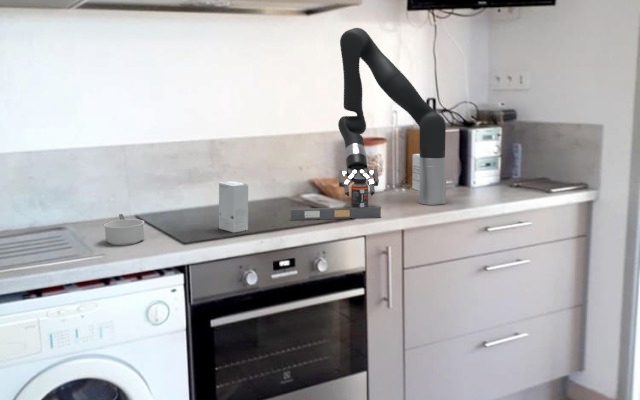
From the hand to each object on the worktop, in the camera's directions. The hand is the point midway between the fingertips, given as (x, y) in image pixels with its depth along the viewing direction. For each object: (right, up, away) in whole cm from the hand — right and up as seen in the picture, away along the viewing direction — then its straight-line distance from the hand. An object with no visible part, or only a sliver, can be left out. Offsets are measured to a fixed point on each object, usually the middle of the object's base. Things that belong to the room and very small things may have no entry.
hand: (360, 194), depth 227 cm
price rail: (-9, -8, -13) cm, 18 cm away
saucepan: (-73, -14, -36) cm, 82 cm away
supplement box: (+30, +2, +42) cm, 52 cm away
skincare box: (-41, -11, -27) cm, 50 cm away
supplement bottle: (0, -5, +2) cm, 6 cm away
